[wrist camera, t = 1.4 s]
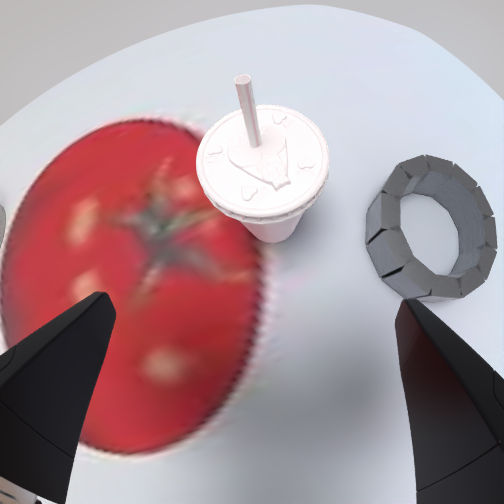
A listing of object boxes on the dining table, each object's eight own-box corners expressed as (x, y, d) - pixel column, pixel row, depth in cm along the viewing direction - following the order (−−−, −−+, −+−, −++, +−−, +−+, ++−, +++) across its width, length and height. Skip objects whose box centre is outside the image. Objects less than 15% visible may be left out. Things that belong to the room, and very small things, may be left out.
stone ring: (485, 269, 19) (512, 260, 15) (398, 324, 19) (420, 325, 15) (435, 166, 21) (454, 143, 18) (343, 202, 22) (354, 179, 18)
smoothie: (287, 169, 23) (281, 24, 9) (329, 235, 21) (384, 117, 8) (217, 206, 23) (141, 83, 9) (255, 276, 21) (200, 206, 8)
